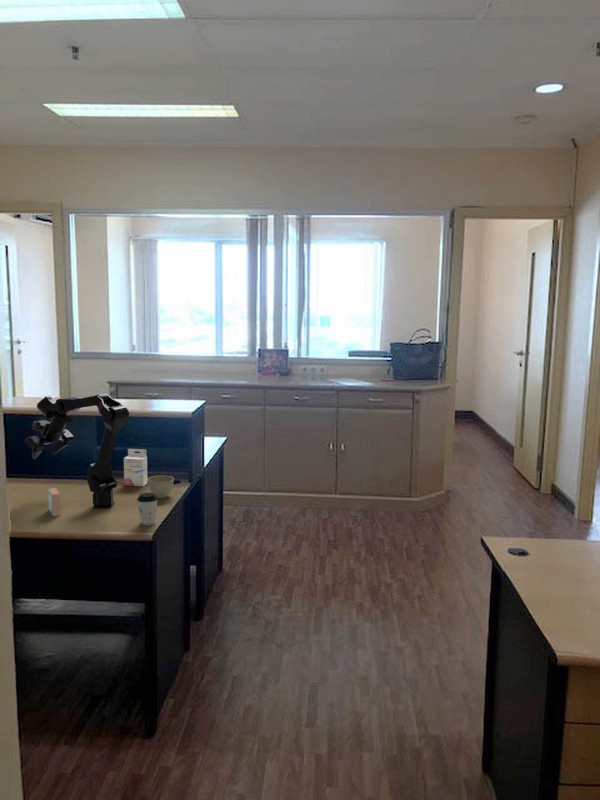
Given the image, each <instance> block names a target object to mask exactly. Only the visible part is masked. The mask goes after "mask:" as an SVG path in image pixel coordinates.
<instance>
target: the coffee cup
mask: <svg viewBox="0 0 600 800" xmlns="http://www.w3.org/2000/svg"><path fill="white" fill-rule="evenodd" d="M158 500H159V498H158V497H157V496H156V495H155V494H154V493H152V492H144V493H140V494H139V496H138V497H137V499H136V501H137V504H138V509H139V512H138V513H139V518H140V524H141V525H142V526H151V525H154V524H156V514H157V507H158V506H157V505H158Z"/></svg>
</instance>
